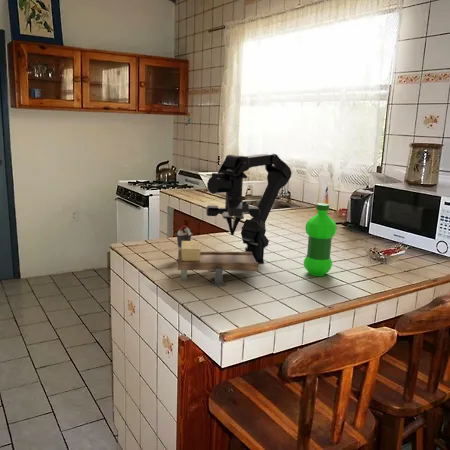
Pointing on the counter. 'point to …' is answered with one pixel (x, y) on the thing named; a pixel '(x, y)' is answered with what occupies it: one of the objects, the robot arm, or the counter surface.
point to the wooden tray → (220, 261)
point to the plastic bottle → (319, 241)
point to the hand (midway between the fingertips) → (232, 234)
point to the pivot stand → (217, 281)
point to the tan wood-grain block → (190, 251)
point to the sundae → (183, 235)
